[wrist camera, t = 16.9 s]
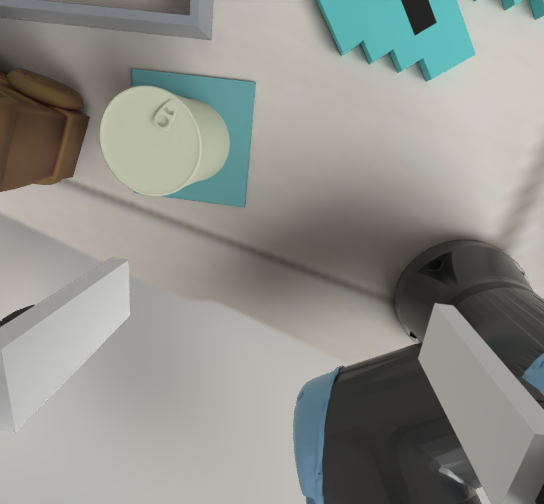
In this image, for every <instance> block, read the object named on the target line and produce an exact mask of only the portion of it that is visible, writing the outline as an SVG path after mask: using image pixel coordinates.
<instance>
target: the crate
mask: <svg viewBox="0 0 544 504" xmlns="http://www.w3.org/2000/svg"><path fill="white" fill-rule="evenodd" d="M0 18H9V19H18V20H28V21H37V22H46V23H56V24H65V25H75V26H84V27H94V28H103V29H112V30H122V31H131V32H141V33H150V34H160V35H169V36H178V37H188V38H197V39H207V40H211V39H212V18H213V0H190V16H189V15H180V14H170V13H160V12H151V11H141V10H131V9H121V8H112V7H102V6H92V5H82V4H73V3H63V2H53V1H43V0H0Z"/></svg>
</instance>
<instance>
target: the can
mask: <svg viewBox="0 0 544 504" xmlns="http://www.w3.org/2000/svg"><path fill="white" fill-rule="evenodd" d="M99 138H100V146H101V150H102V154H103V157H104V159H105V161H106V163H107V165H108V167H109V168H110V170H111V171H112V173H113V174H114V175H115V176H116V177H117V178H118V180H119V181H121V182H122V183H123V184H124V185H125V186H127V187H128V188H130V189H132V190H134V191H136V192H138V193H141V194H145V195H149V196H164V195H169V194H172V193H175V192H177V191H179V190H180V189H182V188H183V187H185V186H187V185H190V184H192V183H194V182H197V181H202V180H206V179H208V178H210V177H212V176H214V175H215V174H216V173H217V172H218V171H219V170H220V169H221V168H222V167H223V165H224V163H225V162H226V159H227V157H228V153H229V147H230V139H229V133H228V129H227V127H226V124H225V122H224V120H223V119H222V117H221V116H220V115H219V113H218V112H217V111H216V110H215V109H214V108H212V107H211V106H210V105H208V104H206V103H204V102H202V101H199V100H196V99H187V98H184V97H181V96H178V95H175V94H173V93H170V92H169V91H166V90H164V89H162V88H158V87H154V86H136V87H132V88H129V89H126V90H124V91H122V92H121V93H119V94H118V95H117V96H115V97H114V98H113V99H112V101H111V102H110V103H109V104H108V106H107V108H106V109H105V111H104V113H103V116H102V119H101V123H100V131H99Z"/></svg>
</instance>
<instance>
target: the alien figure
mask: <svg viewBox="0 0 544 504" xmlns="http://www.w3.org/2000/svg"><path fill="white" fill-rule="evenodd" d="M316 1H317V3H318V5H319V7H320V9H321V12H322V14H323V16H324V18H325V21H326V23H327V25H328V27H329V30H330V32H331V34H332V36H333V39H334V41H335V43H336V45H337V47H338V50H339V52H340V54H341V56H342V55H344V54H345V53H347V52H349V51H350V50H352V49H354V48H355V47H357V46H358V45H360V44H361V46H362V48H363V50H364V53H365V55H366V57H367V60H368V62H369V64H371V63H373V62H375V61H376V60H378V59H380V58H381V57H383V56H385V55H386V54H388V53H390V55H391V58H392V60H393V63H394V65H395V68H396V70H397V72H398V73H399V72H401V71H402V70H404V69H406V68H407V67H409V66H411V65H413V64H414V63H416V62H418V63H419V65H420V68H421V70H422V73H423V75H424V78H425V80H426V81H429V80H431V79H433V78H435V77H436V76H438V75H440V74H442V73H443V72H445V71H447V70H449V69H450V68H452V67H454V66H456V65H458V64H459V63H461V62H463V61H465V60H466V59H468V58H470V57H472V56H474V55H475V51H474V48H473V45H472V43H471V40H470V37H469V34H468V31H467V28H466V25H465V23H464V20H463V17H462V14H461V11H460V8H459V6H458V3H457V0H316ZM474 1H476V0H474ZM521 1H522V0H502V3H503V6H504V10H507V9H509V8H510V7H512V6H514V5H516V4H517V3H519V2H521ZM529 1H530V4H531V8H532V11H533V14H534V18H535V20H536V19H538V18H540V17H542V16H544V0H529Z"/></svg>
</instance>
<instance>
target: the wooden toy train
mask: <svg viewBox="0 0 544 504" xmlns="http://www.w3.org/2000/svg"><path fill="white" fill-rule="evenodd" d="M83 105H84V104H83V99H82V98H81V96H80V95H79V94H78V93H77V92H76V91H74V90H72V89H70V88H69V87H67V86H65V85H63V84H61V83H59V82H56V81H54V80H52V79H49V78H47V77H44V76H42V75H39V74H36V73H33V72H30V71H26V70H22V69H15V70H12V71H10V72H9V73H8V74H5V73H3V72H1V71H0V192H2V191H7V190H12V189H16V188H20V187H23V186H27V185H30V184H40V185H51V184H54V183H57V182H59V181H60V180H62V179H64V178H70V177H73V174H74V171H75V167H76V164H77V160H78V157H79V153H80V150H81V146H82V143H83V139H84V136H85V132H86V129H87V125H88V122H89V118H90V117H88V116H87V115H85V114H83V113H81V112H79V110H80V109H81V108H82V107H83Z"/></svg>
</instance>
